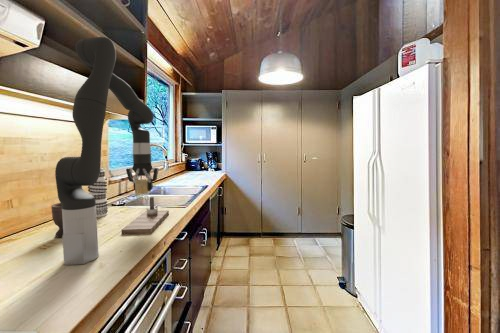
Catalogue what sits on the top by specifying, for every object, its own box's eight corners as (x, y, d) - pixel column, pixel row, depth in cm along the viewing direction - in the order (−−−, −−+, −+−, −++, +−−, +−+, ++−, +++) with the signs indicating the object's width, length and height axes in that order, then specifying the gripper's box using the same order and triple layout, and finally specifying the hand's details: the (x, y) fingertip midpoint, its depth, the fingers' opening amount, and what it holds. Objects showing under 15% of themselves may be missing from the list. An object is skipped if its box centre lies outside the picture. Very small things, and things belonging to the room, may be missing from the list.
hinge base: (151, 233, 113) (150, 207, 112) (121, 234, 112) (120, 208, 111) (168, 214, 145) (168, 193, 144) (145, 214, 144) (145, 194, 143)
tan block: (139, 191, 125) (138, 179, 124) (150, 191, 125) (150, 178, 124) (130, 196, 113) (129, 182, 113) (143, 196, 114) (142, 181, 113)
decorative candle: (92, 213, 147) (89, 167, 145) (110, 212, 150) (108, 167, 148) (86, 217, 139) (83, 169, 137) (106, 216, 141) (103, 168, 139)
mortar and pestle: (90, 231, 116) (87, 185, 115) (79, 238, 108) (76, 188, 106) (61, 232, 115) (58, 186, 114) (48, 239, 107) (45, 189, 105)
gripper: (122, 153, 117) (123, 192, 118) (156, 153, 118) (157, 191, 119) (128, 153, 124) (130, 189, 125) (160, 152, 125) (161, 189, 126)
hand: (143, 190), depth 122 cm, fingers closed on tan block, 5 cm apart
